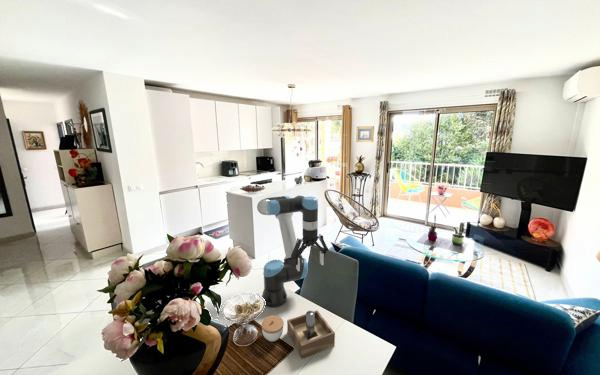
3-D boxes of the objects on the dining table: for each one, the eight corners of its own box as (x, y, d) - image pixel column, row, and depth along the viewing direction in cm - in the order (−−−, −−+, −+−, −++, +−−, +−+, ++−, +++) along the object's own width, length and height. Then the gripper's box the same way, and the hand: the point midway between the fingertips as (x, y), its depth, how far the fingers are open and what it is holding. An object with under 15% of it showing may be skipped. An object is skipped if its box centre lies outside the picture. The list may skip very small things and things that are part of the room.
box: (287, 332, 125) (287, 320, 124) (317, 321, 132) (317, 310, 131) (301, 359, 110) (301, 345, 109) (334, 345, 117) (334, 333, 116)
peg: (304, 337, 122) (304, 312, 119) (312, 334, 124) (312, 309, 121) (308, 343, 119) (308, 317, 116) (315, 340, 120) (316, 315, 117)
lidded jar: (280, 347, 116) (280, 330, 114) (258, 343, 119) (257, 326, 117) (286, 330, 127) (285, 314, 125) (266, 327, 129) (265, 311, 127)
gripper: (289, 234, 115) (290, 276, 119) (335, 226, 125) (334, 265, 130) (283, 229, 122) (284, 268, 126) (327, 221, 132) (327, 258, 136)
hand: (310, 267), depth 128 cm, fingers open, 13 cm apart
